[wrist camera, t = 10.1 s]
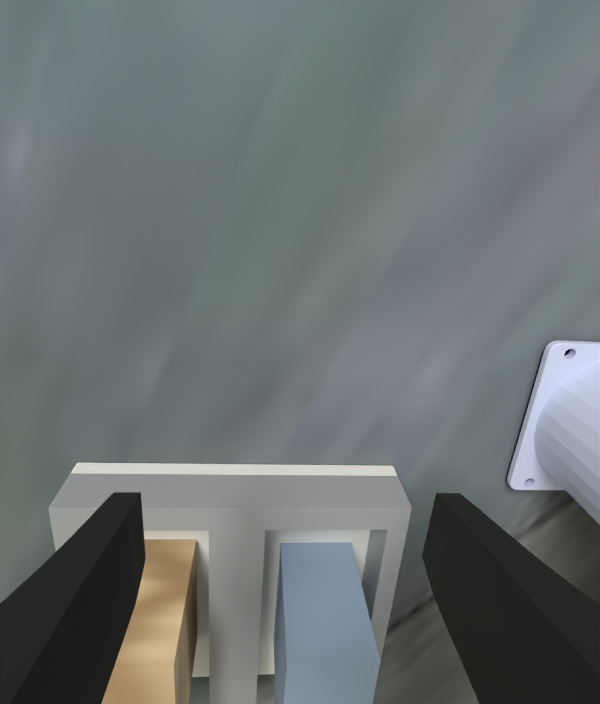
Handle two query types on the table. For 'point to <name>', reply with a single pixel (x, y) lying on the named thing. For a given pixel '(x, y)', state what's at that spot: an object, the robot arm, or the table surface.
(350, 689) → the slate-blue plug block
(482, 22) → the table surface
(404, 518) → the grey socket board
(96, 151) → the table surface
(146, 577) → the maple plug block
